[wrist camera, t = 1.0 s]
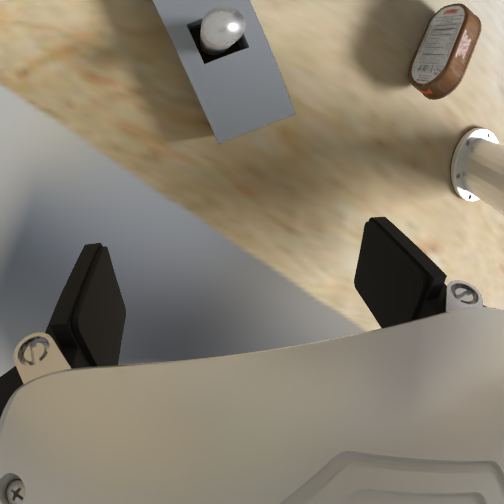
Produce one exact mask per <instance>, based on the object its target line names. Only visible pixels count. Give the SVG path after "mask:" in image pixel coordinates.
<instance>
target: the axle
mask: <svg viewBox="0 0 504 504" xmlns="http://www.w3.org/2000/svg"><path fill="white" fill-rule="evenodd" d="M245 27H246V23H245V19H244V17H243V15H242V14H241V13H240V12H239V11H238V10H236V9H234V8H232V7H228V6H220V7H216V8H213V9H212V10H210V11H209V12H207V13H206V15H205V16H204V17H203V20H202V23H201V33H200V46H201V48H202V49H203V51H205V52H206V53H208V54H211V55H218V54H221V53H223V52H225V51H226V50H227V49H228V48H229V47H230V46H231V45H233V44H234V43H235V42H236V41H237V40H238V39H239V38H240V37H241V36H242V35H243V33H244V31H245Z"/></svg>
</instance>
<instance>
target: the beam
mask: <svg viewBox="0 0 504 504" xmlns="http://www.w3.org/2000/svg"><path fill="white" fill-rule="evenodd" d="M153 3H154V5H155V7H156V9H157V11H158V13H159V15H160V17H161V19H162V22H163V24H164V26H165V28H166V30H167V32H168V34H169V37H170V39H171V41H172V43H173V45H174V47H175V49H176V52H177V54H178V56H179V58H180V60H181V62H182V64H183V67H184V69H185V71H186V73H187V75H188V78H189V80H190V82H191V84H192V86H193V88H194V91H195V93H196V95H197V97H198V99H199V102H200V104H201V106H202V108H203V110H204V112H205V115H206V117H207V119H208V121H209V123H210V126H211V128H212V130H213V132H214V135H215V137H216V139H217V141H218V143H219V144H221V143H223V142H226V141H228V140H230V139H233V138H235V137H237V136H240V135H242V134H245V133H247V132H250V131H252V130H255V129H257V128H260V127H262V126H265V125H267V124H270V123H273V122H275V121H278V120H281V119H283V118H286V117H289V116H292V115H294V114H295V111H294V108H293V105H292V102H291V100H290V97H289V94H288V92H287V89H286V86H285V84H284V81H283V78H282V76H281V73H280V71H279V68H278V66H277V63H276V61H275V58H274V56H273V53H272V51H271V48H270V46H269V43H268V41H267V39H266V36H265V34H264V31H263V29H262V27H261V25H260V22H259V20H258V18H257V15H256V13H255V11H254V9H253V7H252V4H251V2H250V0H153ZM220 6H228V7H232V8H234V9H236V10H238V11H239V12H240V13H241V14H242V15H243V17H244V19H245V23H246V27H245V31H244V33H243V35H242V36H241V37H240V38H239V39H238V40H237V41H238V43H239V45H240V48H241V50H240V51H238V52H235V53H232V54H229V55H227V56H224V57H221V58H219V59H216V60H214V61H211V62H209V63H206V64H204V62H203V60H202V58H201V56H200V53H199V51H198V49H197V47H196V45H195V42H194V40H193V38H192V36H191V34H190V32H189V31H192V30H194V29H196V28H199V27H201V23H202V20H203V17H204V16H205V15H206V13H207V12H209V11H210V10H212V9H213V8H216V7H220Z"/></svg>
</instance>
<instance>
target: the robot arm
mask: <svg viewBox="0 0 504 504" xmlns="http://www.w3.org/2000/svg"><path fill="white" fill-rule="evenodd" d="M451 179H452V184H453V187H454V190H455V191H456V193H457V194H458V195H459V196H460V197H461V198H463V199H464V200H467V201H477V200H479V199H481V200H483V201H484V202H486V203H487V204H489V205H490V206H491V207H493V208H494V209H496V210H497V211H499V212H500V213H502V214H503V215H504V147H503V146H501V145H499V143H498V141H497V138H496V137H495V135H494V134H493V133H492V132H491V131H489V130H487V129H484V128H474V129H471V130H470V131H468V132H467V133H466V134H465V135H464V136H463V137H462V138H461V140H460V141H459V143H458V145H457V147H456V149H455V152H454V155H453V159H452V164H451ZM446 277H447V276H446V275H445V273H444V272H443V271H442V270H441V269H440V268H439V267H438V266H437V265H436V264H435V263H434V262H433V261H432V260H431V259H430V258H429V257H428V256H427V255H426V254H424V253H423V252H422V251H421V250H420V249H419V248H418V247H417V246H416V245H415V244H414V243H413V242H412V241H411V240H410V239H409V238H408V237H407V236H406V235H404V234H403V233H402V232H401V231H400V230H399V229H398V228H397V227H396V226H395V225H394V224H392V223H391V222H390V221H389V220H388V219H387V218H386V217H374V218H370V219H369V221H368V222H366V223H365V226H364V232H363V238H362V243H361V249H360V254H359V259H358V264H357V269H356V274H355V279H354V284H355V288H356V290H357V291H358V293H359V294H360V296H361V297H362V299H363V300H364V302H365V303H366V305H367V306H368V308H369V309H370V311H371V312H372V314H373V315H374V317H375V319H376V320H377V322H378V323H379V325H380V326H381V328H382V329H377V330H373V331H368V332H364V333H359V334H354V335H350V336H345V337H340V338H335V339H330V340H325V341H319V342H314V343H308V344H303V345H297V346H291V347H285V348H279V349H272V350H266V351H259V352H252V353H244V354H237V355H230V356H221V357H213V358H204V359H194V360H184V361H173V362H159V363H146V364H145V363H144V364H126V365H118V360H119V353H120V346H121V340H122V334H123V328H124V323H125V317H126V310H125V305H124V302H123V299H122V296H121V293H120V289H119V286H118V283H117V280H116V276H115V273H114V269H113V266H112V262H111V259H110V255H109V251H108V248H107V247H103V246H102V244H101V243H96V244H88V245H85V246H84V248H83V250H82V252H81V254H80V256H79V258H78V260H77V262H76V264H75V266H74V268H73V270H72V272H71V275H70V276H69V279H68V281H67V283H66V285H65V287H64V289H63V291H62V294H61V296H60V298H59V300H58V303H57V305H56V307H55V310H54V312H53V315H52V317H51V320H50V322H49V325H48V327H47V330H46V332H45V333H34V334H31V335H29V336H27V337H25V338H24V339H23V340H22V341H21V342H20V343H19V344H18V345H17V347H16V349H15V351H14V362H15V365H16V366H15V367H14V368H12V369H11V370H9V371H8V372H7V373H6V374H4V375H3V376H1V377H0V504H504V311H503V310H500V309H496V308H489V307H486V306H484V305H483V300H482V296H481V294H480V292H479V291H478V290H477V289H476V288H475V287H474V286H472V285H471V284H469V283H466V282H463V281H452V282H450V283H449V284H448V285H447V286H446V285H445V284H444V282H445V279H446Z"/></svg>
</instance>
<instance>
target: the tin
mask: <svg viewBox="0 0 504 504" xmlns="http://www.w3.org/2000/svg"><path fill="white" fill-rule="evenodd" d="M480 33H481V22H480V20H479V18H478V17H477V16H476V15H474V14H473V13H472V12H471V11H470V10H469V9H468V8H467V7H466V6H465V5H463V4H452V5H448V6H445V7H443V8H441V9H440V10H439V11H438V12H437V13H436V14H435V15H434V16H433V17H432V19H431V21H430V22H429V24H428V27H427V29H426V31H425V33H424V36H423V38H422V40H421V42H420V45H419V47H418V49H417V51H416V53H415V56H414V58H413V60H412V62H411V65H410V69H409V79H410V82H411V83H412V85H413V86H414V87H415V88H416V89H418V90H419V91H420V92H421V93H423V95H424V96H425V97H427V98H429V99H433V100H435V99H440V98H443V97H445V96H447V95H449V94H450V93H451V92H452V91H454V90H455V89H456V87H457V86H458V85H459V84H460V82H461V81H462V79H463V77H464V74H465V72H466V69H467V67H468V65H469V62H470V59H471V57H472V54H473V52H474V49H475V46H476V44H477V41H478V39H479V36H480Z"/></svg>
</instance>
